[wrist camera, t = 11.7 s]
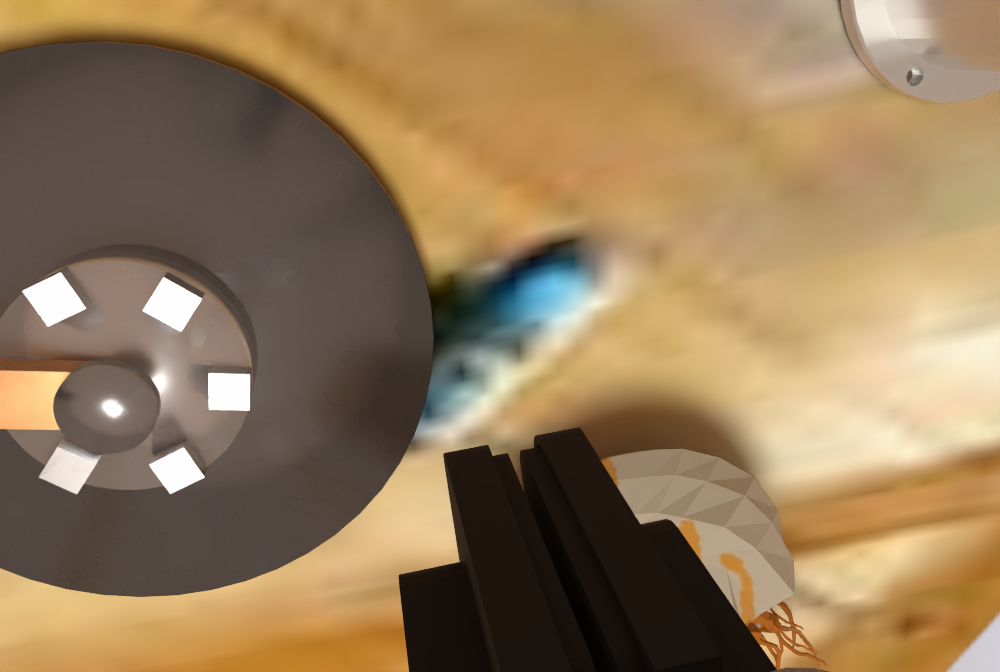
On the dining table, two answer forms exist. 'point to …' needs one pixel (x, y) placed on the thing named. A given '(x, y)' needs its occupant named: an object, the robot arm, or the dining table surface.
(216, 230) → the dark gray metal disc
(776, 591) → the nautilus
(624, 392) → the dining table surface
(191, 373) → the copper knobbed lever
